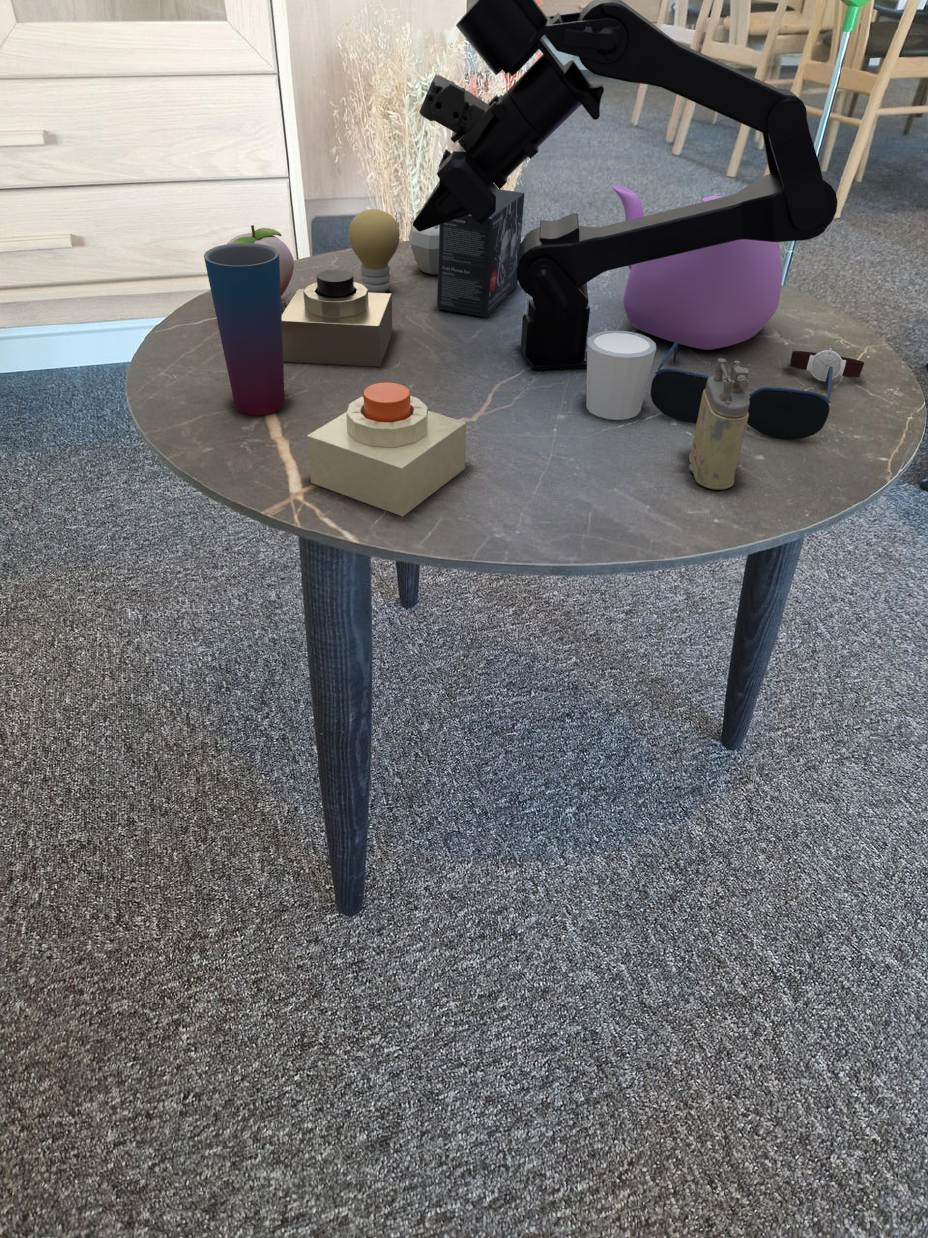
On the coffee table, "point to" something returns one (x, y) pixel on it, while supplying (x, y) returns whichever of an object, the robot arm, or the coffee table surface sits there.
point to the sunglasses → (767, 410)
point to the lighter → (720, 427)
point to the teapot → (703, 289)
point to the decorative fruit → (268, 239)
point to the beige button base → (337, 327)
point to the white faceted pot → (426, 248)
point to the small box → (480, 258)
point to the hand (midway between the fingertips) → (415, 227)
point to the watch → (826, 364)
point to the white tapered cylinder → (618, 373)
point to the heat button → (335, 283)
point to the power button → (386, 402)
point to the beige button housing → (387, 456)
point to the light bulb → (374, 247)
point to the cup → (249, 322)
